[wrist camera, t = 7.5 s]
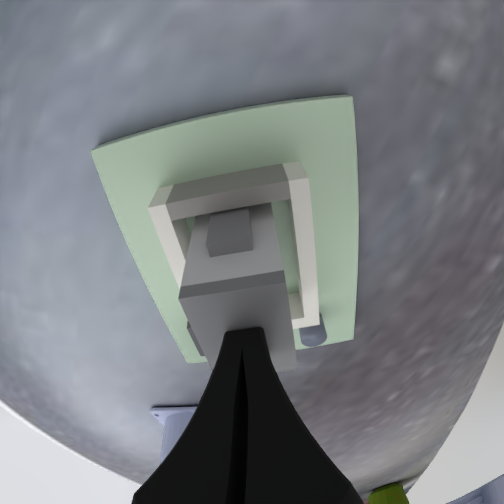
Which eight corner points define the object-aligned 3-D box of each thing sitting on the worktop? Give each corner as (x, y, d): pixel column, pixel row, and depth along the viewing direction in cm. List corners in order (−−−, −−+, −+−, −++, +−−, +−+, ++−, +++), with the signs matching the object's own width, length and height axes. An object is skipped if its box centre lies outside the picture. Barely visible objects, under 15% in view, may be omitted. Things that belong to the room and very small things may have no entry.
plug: (283, 278, 18) (298, 369, 13) (221, 288, 18) (217, 379, 13) (267, 185, 14) (283, 267, 10) (193, 199, 15) (172, 285, 10)
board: (350, 330, 22) (360, 361, 20) (188, 355, 23) (185, 386, 20) (347, 94, 13) (369, 104, 10) (96, 146, 14) (71, 166, 11)
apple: (378, 484, 65) (384, 518, 55) (411, 476, 66) (419, 507, 57) (358, 494, 72) (363, 525, 62) (390, 487, 73) (396, 516, 64)
